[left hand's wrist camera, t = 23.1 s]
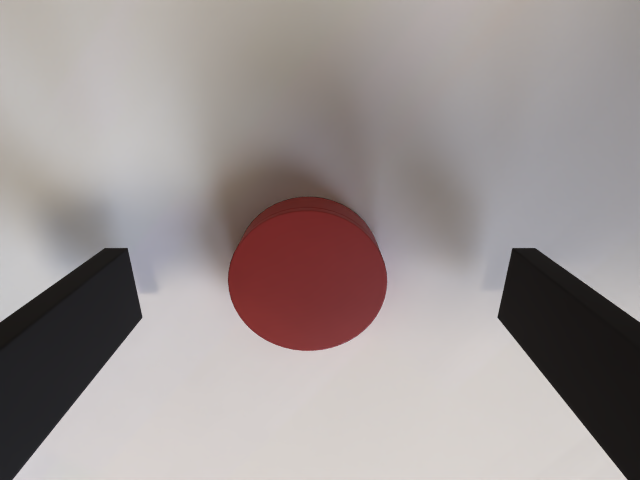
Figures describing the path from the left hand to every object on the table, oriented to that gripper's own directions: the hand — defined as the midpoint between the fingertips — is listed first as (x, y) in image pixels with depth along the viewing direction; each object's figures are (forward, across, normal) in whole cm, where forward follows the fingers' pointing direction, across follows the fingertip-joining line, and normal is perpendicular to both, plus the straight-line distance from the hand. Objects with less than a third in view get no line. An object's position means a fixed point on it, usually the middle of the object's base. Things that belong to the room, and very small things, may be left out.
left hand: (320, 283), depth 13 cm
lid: (0, 0, 0) cm, 0 cm away
